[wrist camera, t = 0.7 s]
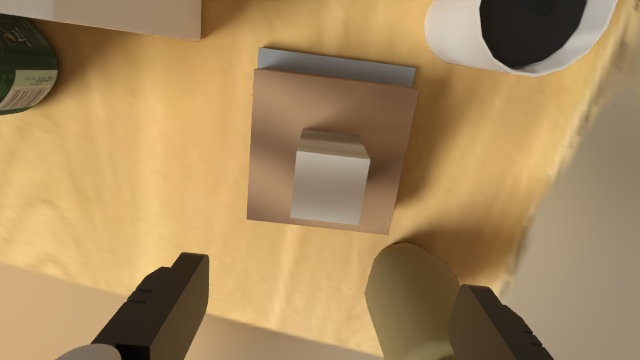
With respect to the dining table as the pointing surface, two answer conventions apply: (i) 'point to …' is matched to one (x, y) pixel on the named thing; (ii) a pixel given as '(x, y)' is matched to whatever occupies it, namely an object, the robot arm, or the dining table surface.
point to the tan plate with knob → (327, 150)
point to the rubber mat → (335, 67)
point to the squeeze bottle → (411, 303)
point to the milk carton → (117, 15)
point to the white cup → (516, 32)
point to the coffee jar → (24, 64)
